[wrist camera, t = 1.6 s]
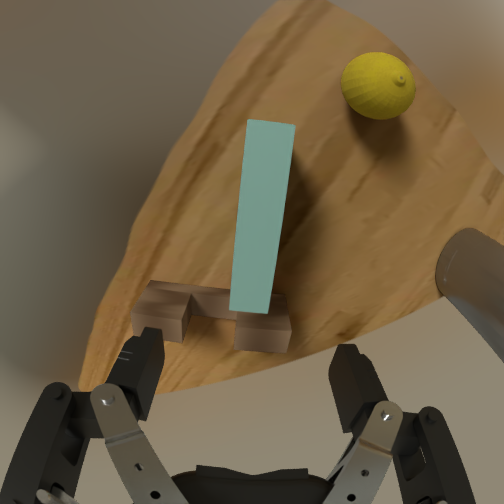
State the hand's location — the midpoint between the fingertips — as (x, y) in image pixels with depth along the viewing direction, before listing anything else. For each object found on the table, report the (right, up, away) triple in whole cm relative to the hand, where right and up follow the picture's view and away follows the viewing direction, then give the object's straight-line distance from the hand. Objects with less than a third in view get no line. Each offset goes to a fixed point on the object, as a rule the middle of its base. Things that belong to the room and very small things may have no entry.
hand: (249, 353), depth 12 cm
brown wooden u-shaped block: (-4, 0, +17) cm, 17 cm away
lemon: (+10, +19, +9) cm, 23 cm away
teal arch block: (+1, +9, +13) cm, 16 cm away
